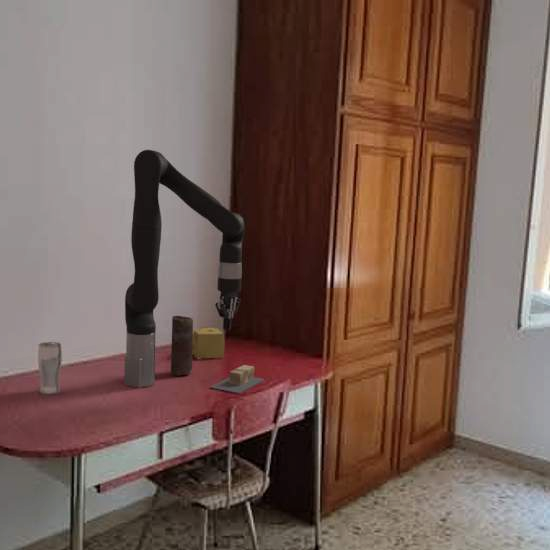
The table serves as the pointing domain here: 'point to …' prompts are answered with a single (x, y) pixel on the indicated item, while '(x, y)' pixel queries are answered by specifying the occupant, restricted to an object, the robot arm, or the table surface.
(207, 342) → the cheese
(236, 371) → the block
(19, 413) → the table surface
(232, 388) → the mat
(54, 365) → the beer glass
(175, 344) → the brown rough cylinder
